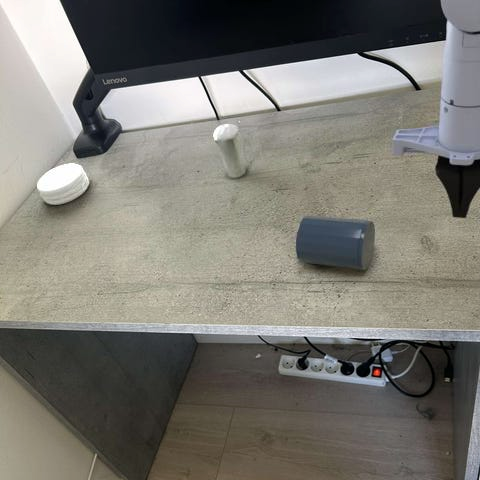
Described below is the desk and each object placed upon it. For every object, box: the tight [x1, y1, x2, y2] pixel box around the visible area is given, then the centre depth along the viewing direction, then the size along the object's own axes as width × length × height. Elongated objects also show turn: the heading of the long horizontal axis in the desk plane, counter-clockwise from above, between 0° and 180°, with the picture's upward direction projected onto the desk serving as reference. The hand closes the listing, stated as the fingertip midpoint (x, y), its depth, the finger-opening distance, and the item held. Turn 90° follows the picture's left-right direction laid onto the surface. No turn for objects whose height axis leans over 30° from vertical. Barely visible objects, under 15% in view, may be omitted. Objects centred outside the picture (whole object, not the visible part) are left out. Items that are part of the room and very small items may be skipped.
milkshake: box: [213, 120, 246, 179], centre depth 86 cm, size 5×5×10 cm
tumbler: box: [295, 215, 376, 271], centre depth 66 cm, size 6×6×9 cm
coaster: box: [36, 163, 90, 206], centre depth 100 cm, size 10×10×4 cm
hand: (460, 212), depth 55 cm, fingers closed
